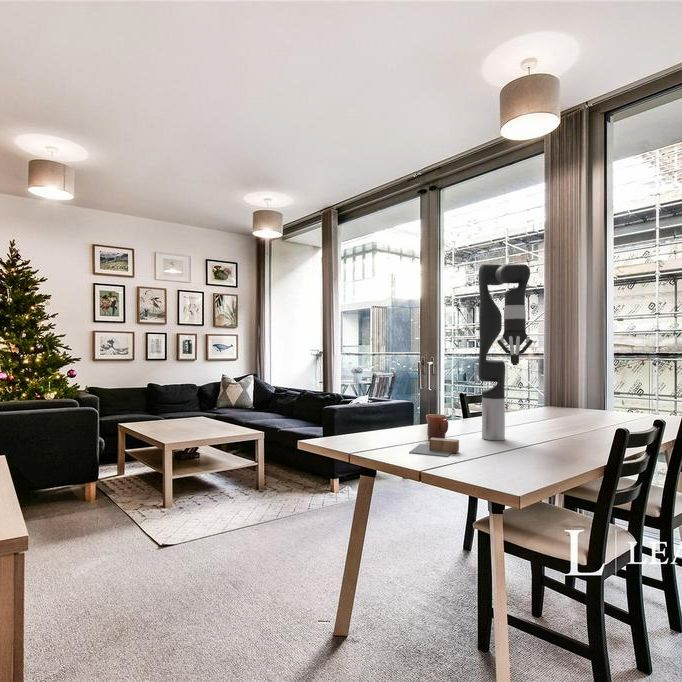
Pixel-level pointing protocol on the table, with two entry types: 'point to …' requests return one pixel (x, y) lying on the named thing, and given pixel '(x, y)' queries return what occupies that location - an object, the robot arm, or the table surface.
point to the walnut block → (444, 445)
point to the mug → (436, 426)
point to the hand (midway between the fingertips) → (514, 365)
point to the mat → (428, 451)
